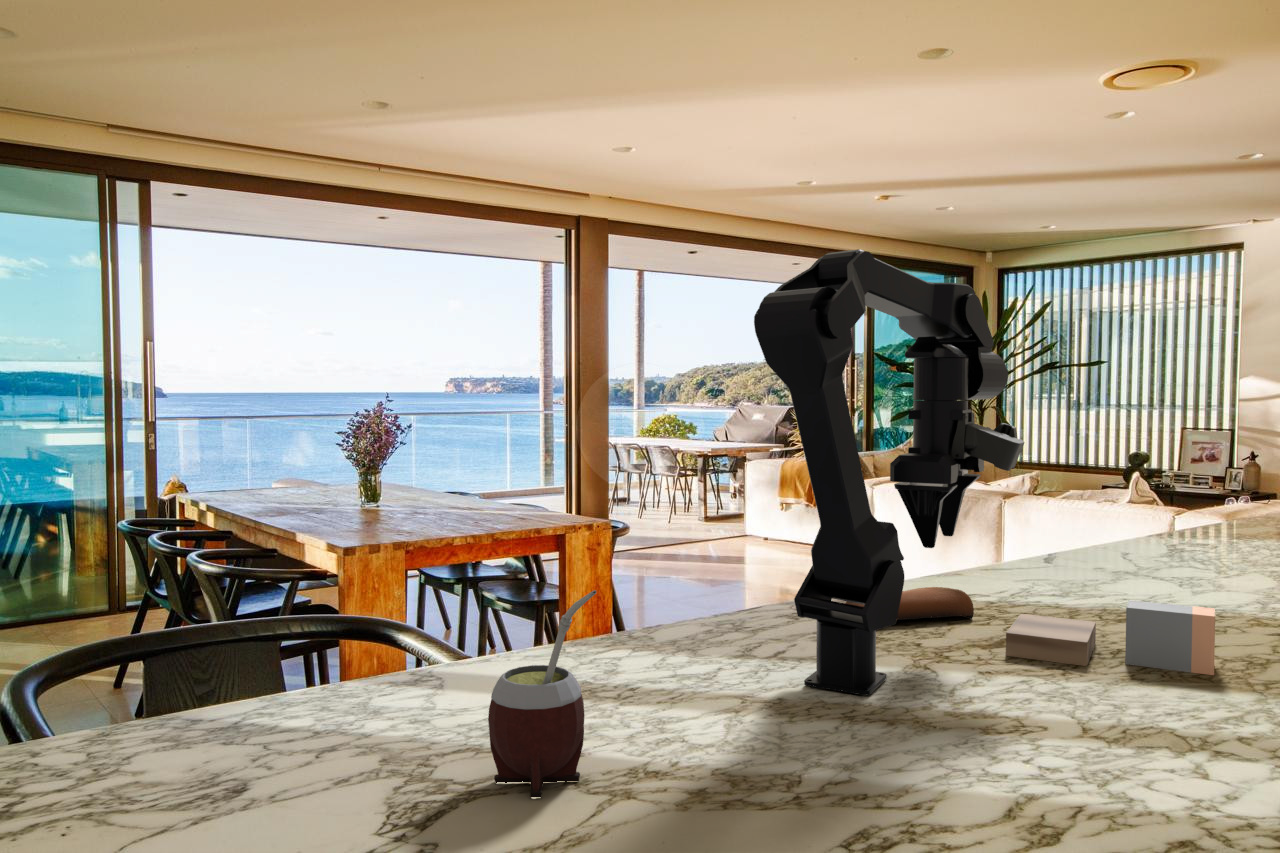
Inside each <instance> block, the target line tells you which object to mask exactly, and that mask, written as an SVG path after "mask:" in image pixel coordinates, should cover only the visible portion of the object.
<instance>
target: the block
mask: <svg viewBox="0 0 1280 853" xmlns="http://www.w3.org/2000/svg"><path fill="white" fill-rule="evenodd" d="M1125 608H1126V610H1125V658H1124V660H1125V665H1129V664H1130V666H1138V667H1145V668H1153V669H1154V668H1155V669H1161V670H1168V671H1169V670H1170V671H1176V672H1177V671H1178V672H1185V673H1192V674H1201V675H1208V676H1209V675H1210V676H1215V646H1216V644H1215V643H1216V639H1215V638H1216V611H1215V610H1216V609H1215V608H1214V607H1213V608H1212V607H1203V606H1193V605H1192V606H1191V605H1185V604H1184V605H1182V604H1172V603H1171V604H1170V603H1162V602H1151V601H1140V600H1133V599H1131V600H1130V599H1129V600H1128V601H1127V605H1126V607H1125Z"/></svg>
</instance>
